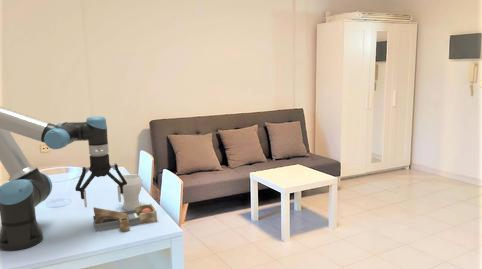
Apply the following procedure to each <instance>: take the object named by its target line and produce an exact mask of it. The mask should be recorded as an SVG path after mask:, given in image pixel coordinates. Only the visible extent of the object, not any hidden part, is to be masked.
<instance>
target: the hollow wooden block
mask: <svg viewBox="0 0 482 269" xmlns="http://www.w3.org/2000/svg"><path fill="white" fill-rule="evenodd" d="M119 223H120V228H119V229H120V232H121V233H124V232H129V231H130V229H131V228H130V226H129V219H128V217H126V218H120V219H119Z"/></svg>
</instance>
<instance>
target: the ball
mask: <svg viewBox="0 0 482 269" xmlns="http://www.w3.org/2000/svg"><path fill="white" fill-rule="evenodd" d="M147 212H152V211H151V210H150V209H149V208H145V209H143V210H142V213H147Z"/></svg>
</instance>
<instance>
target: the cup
mask: <svg viewBox="0 0 482 269" xmlns="http://www.w3.org/2000/svg"><path fill="white" fill-rule="evenodd" d="M122 176H123V177H124V179H125V180H126V182H127V184H126V185H124V186H123V194H121V196H122V197H123V207H122V209H124V211H127V210H134V209H136V206H140V200H139V199H140V197H139V196H140V194H141V191H142V187H143V182H142V181H143V180H142V179H141V177H142V176H141V175H140V174H135V173H132V174H131V173H130V174H124V175H123V174H122ZM118 180H119V181H120V182H123V181H122V180H121V178H120V177H119V178H118Z"/></svg>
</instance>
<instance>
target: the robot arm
mask: <svg viewBox="0 0 482 269" xmlns="http://www.w3.org/2000/svg"><path fill="white" fill-rule="evenodd" d="M106 120H107V119H106V118H105V116H100V115H99V116H97V115H96V116H89V117H86V121H79V122H76V121H75V122H73V121H72V122H69V121H64V122H58V123H57V124H54V123H50V122H48V121H46V120H41V119H39V118H37V117H32V116H29V115H27V114H24V113H21V112H18V111H15V110H12V109H9V108H6V107H2V106H0V163H1V164H2V166H3V168H4V169H5V171H6V172H7V173H8V176H10V177H9V180H8V181H6V182H5V183H3V184H1V185H0V224H1V227H0V249H1V250H3V251H8V252H9V251H10V252H11V251H19V250H24V249H25V250H26V249H28V248H31V247H34V246H36V245H38V244H39V243H41V242H42V241H43V239H44V234H43V233H44V232H43V231H42V228H41V227H40V225H39V223H38V220H37V217H36V207H37V206H38V205H39V204H40V203H42V202H44V201H46V200H47V198H48V197H49V196H50V195H51V193H52V190H53V182H52V179H51V178H50V177H49V176H48V175H47V174H45V173H43V172H41V171H40V170H39V168H38V167H37V166H34V165H32V164H31V163H30V161H29V160H28V158H27V157H26V154H24V152H23V150H22V149H21V147H20V146H19V144H18V142H17V141H16V139H15V138H14V136H13V134H17V135H20V136H23V137H26V138H29V139H32V140H35V141H37V142H40V143H41V142H42V143H45V145H46V146H47V147H48V148H49V149H52V150H61V149H63V148H65V147H67V146H68V145H70V144H72V143H73V142H74V143H75V142H77V141H78V142H80V141H81V142H82V141H87V142H88V153H89V155H90V156H89V164H90V165H89V167H86V166H83V167H82V168H81V171H82V172H81V175H80V176H79V179H78V181H77V183H76V185H75V192H79V193H80V198H81V200H83V201H84V208H88V206H87V205H88V203H87V192H86V188H87V187H88V186H89V185H90V184H91V182H92V181H93V180H94V178H95V177H97V178H101V177H106V176H108V177H109V178H110V179H111V180H112V181H113V182H114V183H116V184H117V197H118V202H119V203H122V194H123V186H124V185H126V184H127V182H126V180H125V179H124V177H123V174H122V172H121V170H119V166H118V164H117V162H115V163H114V164H110V154H109V142H108V126H107V121H106ZM12 133H13V134H12ZM111 169H113V171H114V170H115V172H116V173H117V175H118V177H119V178H121V180H122V181H123V182H120V181H119V178H117V177H116V176H115V175H114V174H112V173H111ZM88 172H90V175H89V177H88V178H87V179H86V180H85V181H84V179H85V177H86V174H88ZM83 181H84V183H83ZM81 185H82V186H81Z"/></svg>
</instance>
